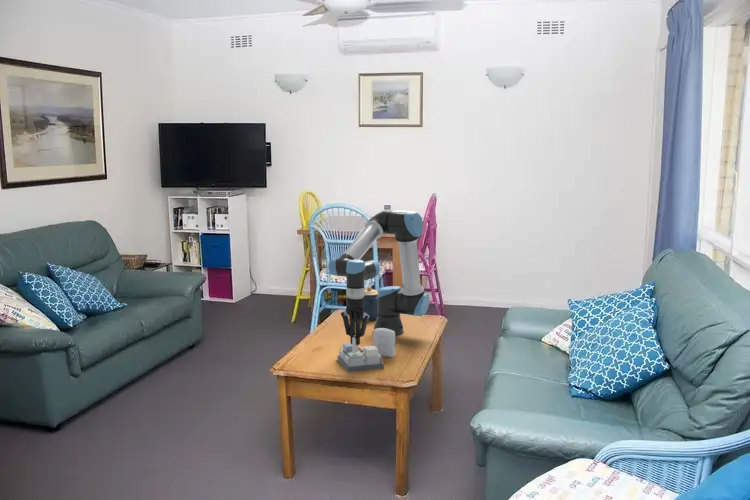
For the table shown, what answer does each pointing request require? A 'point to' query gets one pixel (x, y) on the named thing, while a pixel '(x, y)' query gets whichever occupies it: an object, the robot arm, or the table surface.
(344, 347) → the key slate
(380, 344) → the photo printer
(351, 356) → the key sage
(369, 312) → the canister
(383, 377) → the table surface
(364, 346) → the key terracotta
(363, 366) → the keypad base
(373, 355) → the key ivory
